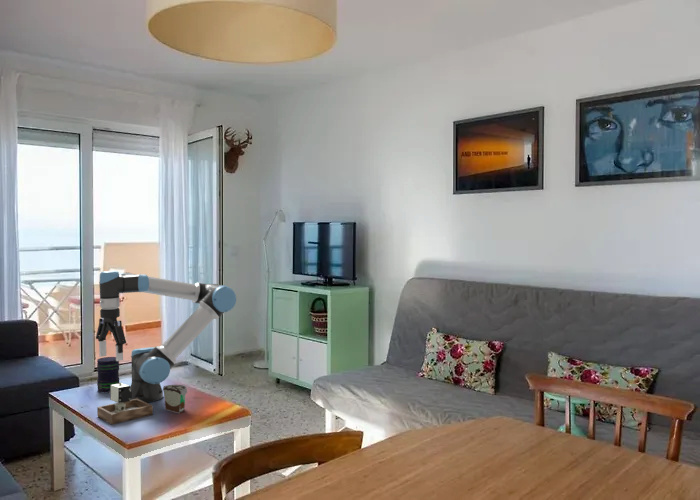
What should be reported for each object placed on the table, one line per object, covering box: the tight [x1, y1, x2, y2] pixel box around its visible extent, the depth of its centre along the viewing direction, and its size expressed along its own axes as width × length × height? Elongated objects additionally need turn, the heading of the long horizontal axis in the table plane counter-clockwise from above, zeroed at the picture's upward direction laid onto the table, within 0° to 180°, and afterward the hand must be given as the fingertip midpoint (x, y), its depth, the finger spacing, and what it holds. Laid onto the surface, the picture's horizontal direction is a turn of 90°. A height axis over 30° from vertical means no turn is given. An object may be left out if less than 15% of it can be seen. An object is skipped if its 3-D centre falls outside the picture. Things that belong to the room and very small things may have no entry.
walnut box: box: [96, 399, 154, 425], centre depth 234 cm, size 17×14×4 cm
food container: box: [162, 384, 188, 414], centre depth 243 cm, size 12×6×10 cm, turn 56°
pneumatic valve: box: [108, 382, 132, 413], centre depth 236 cm, size 6×12×12 cm, turn 44°
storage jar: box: [96, 356, 120, 393], centre depth 273 cm, size 10×10×15 cm
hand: (111, 358), depth 238 cm, fingers open, 13 cm apart
